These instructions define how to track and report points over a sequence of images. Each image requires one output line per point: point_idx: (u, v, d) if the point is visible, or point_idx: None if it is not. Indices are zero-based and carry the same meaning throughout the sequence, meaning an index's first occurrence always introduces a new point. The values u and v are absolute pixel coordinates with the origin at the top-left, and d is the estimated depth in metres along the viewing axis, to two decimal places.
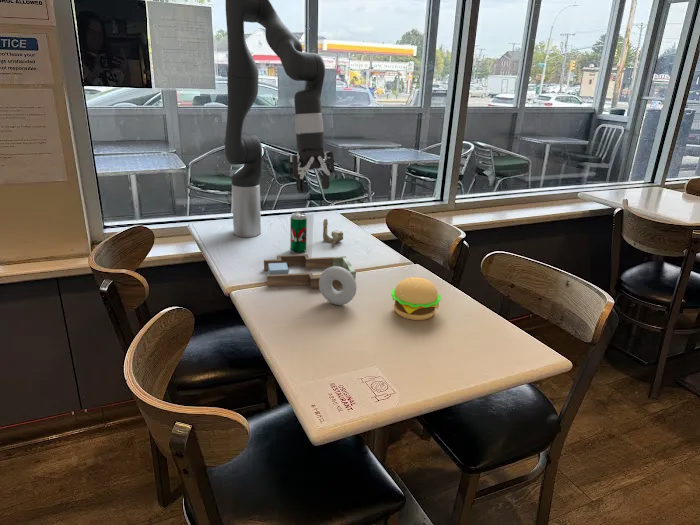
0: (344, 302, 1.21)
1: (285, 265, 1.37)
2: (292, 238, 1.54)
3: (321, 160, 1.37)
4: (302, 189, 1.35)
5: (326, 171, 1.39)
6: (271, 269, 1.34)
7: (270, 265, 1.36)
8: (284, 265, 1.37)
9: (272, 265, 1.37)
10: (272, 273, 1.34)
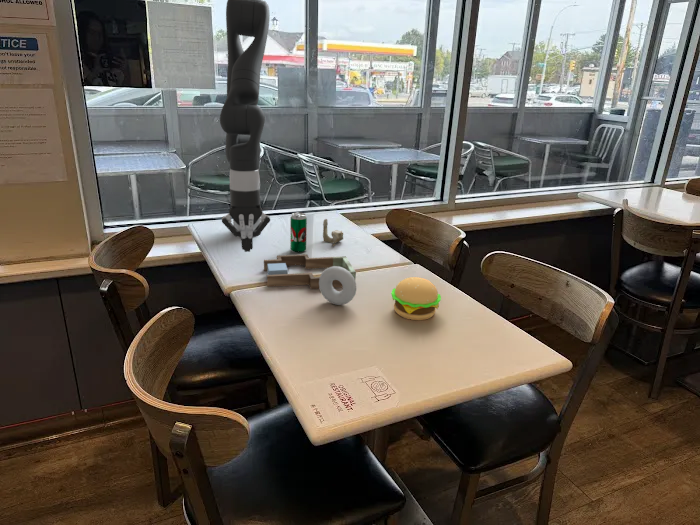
0: (344, 302, 1.21)
1: (284, 265, 1.37)
2: (292, 238, 1.54)
3: (251, 219, 1.27)
4: (244, 248, 1.31)
5: (249, 233, 1.29)
6: (270, 269, 1.33)
7: (269, 265, 1.36)
8: (283, 265, 1.37)
9: (271, 265, 1.36)
10: (271, 273, 1.33)
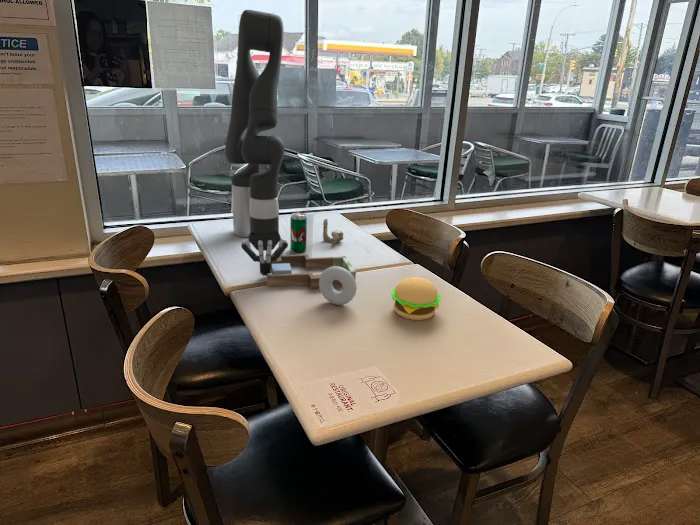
0: (344, 302, 1.21)
1: (288, 266, 1.37)
2: (292, 238, 1.54)
3: (270, 245, 1.31)
4: (262, 272, 1.35)
5: (268, 258, 1.33)
6: (274, 269, 1.34)
7: (273, 265, 1.36)
8: (287, 266, 1.37)
9: (275, 265, 1.36)
10: (275, 273, 1.34)
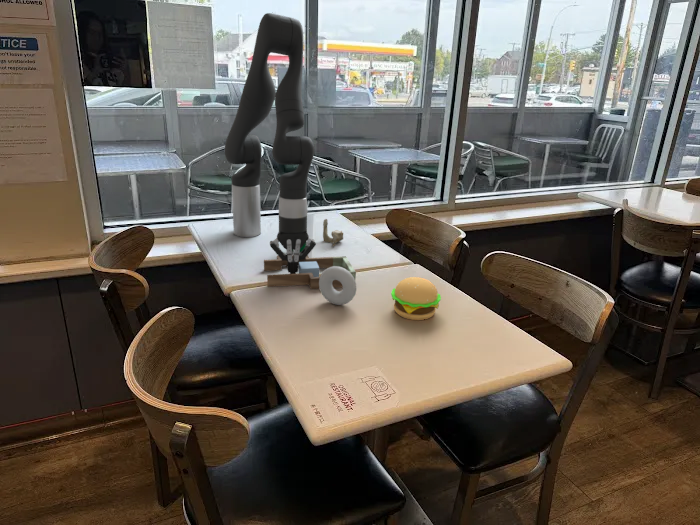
0: (344, 302, 1.21)
1: (315, 264, 1.38)
2: None
3: (298, 244, 1.33)
4: (290, 271, 1.36)
5: (296, 256, 1.35)
6: (302, 267, 1.35)
7: (301, 264, 1.38)
8: (314, 264, 1.38)
9: (302, 263, 1.38)
10: (303, 271, 1.35)
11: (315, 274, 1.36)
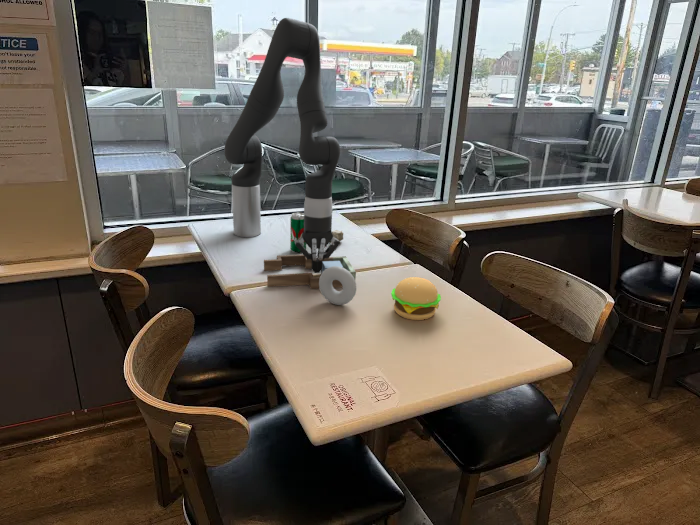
0: (344, 302, 1.21)
1: (339, 263, 1.40)
2: (292, 238, 1.54)
3: (323, 243, 1.35)
4: (315, 269, 1.38)
5: (320, 255, 1.36)
6: (326, 267, 1.37)
7: (324, 263, 1.40)
8: (338, 263, 1.40)
9: (326, 263, 1.40)
10: None
11: None
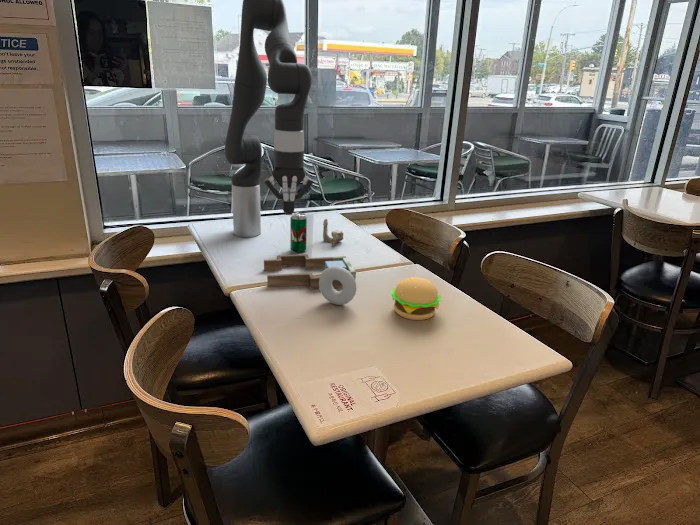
0: (344, 302, 1.21)
1: (342, 263, 1.40)
2: (292, 238, 1.54)
3: (294, 181, 1.26)
4: (286, 211, 1.30)
5: (292, 195, 1.28)
6: None
7: (327, 263, 1.40)
8: (341, 263, 1.40)
9: (329, 263, 1.40)
10: None
11: None
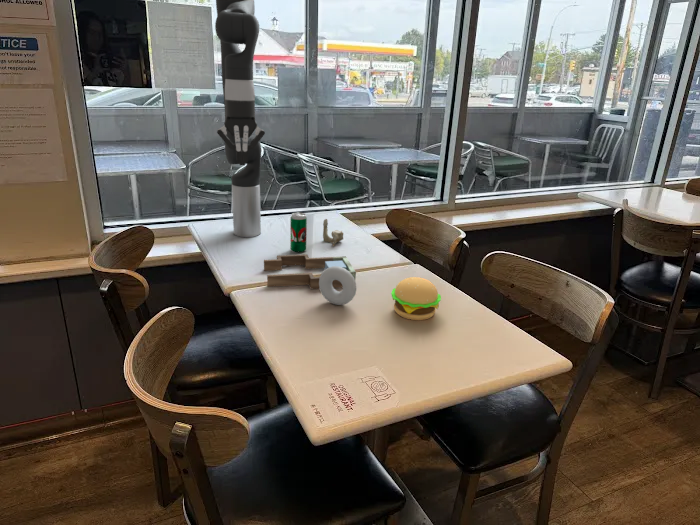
0: (344, 302, 1.21)
1: (342, 263, 1.40)
2: (292, 238, 1.54)
3: (246, 131, 1.30)
4: (239, 161, 1.34)
5: (244, 145, 1.32)
6: None
7: (327, 263, 1.40)
8: (341, 263, 1.40)
9: (329, 263, 1.40)
10: None
11: None
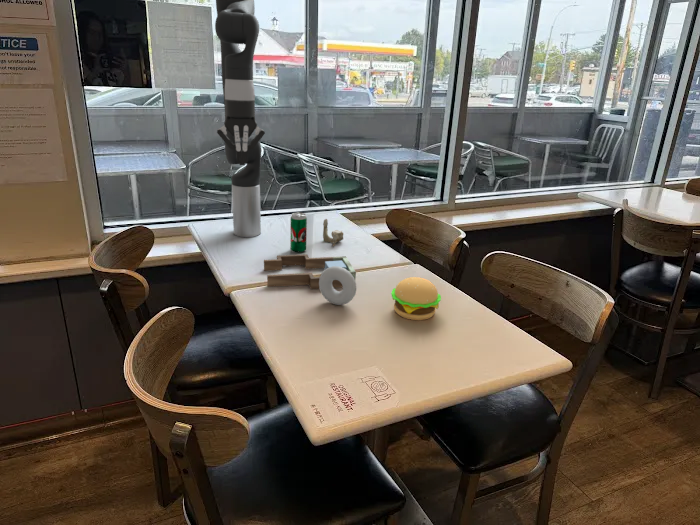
0: (344, 302, 1.21)
1: (342, 263, 1.40)
2: (292, 238, 1.54)
3: (246, 131, 1.30)
4: (239, 161, 1.34)
5: (244, 145, 1.32)
6: None
7: (327, 263, 1.40)
8: (341, 263, 1.40)
9: (329, 263, 1.40)
10: None
11: None
